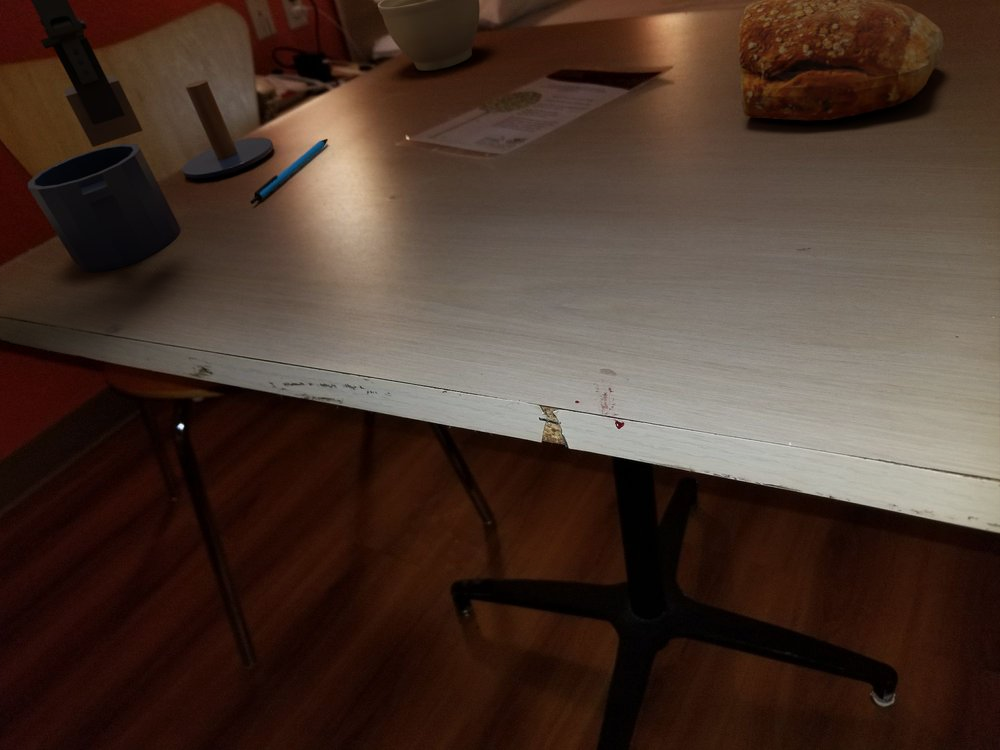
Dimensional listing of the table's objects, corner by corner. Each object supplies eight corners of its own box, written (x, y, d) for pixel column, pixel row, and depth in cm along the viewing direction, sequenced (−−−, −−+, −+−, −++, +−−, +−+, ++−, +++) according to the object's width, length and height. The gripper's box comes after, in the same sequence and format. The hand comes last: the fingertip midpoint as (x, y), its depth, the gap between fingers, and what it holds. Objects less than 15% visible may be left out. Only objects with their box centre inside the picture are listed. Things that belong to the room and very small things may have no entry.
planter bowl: (394, 64, 127) (376, -4, 121) (483, 41, 127) (469, -28, 121) (399, 86, 114) (378, 12, 108) (498, 60, 114) (483, -16, 108)
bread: (765, 66, 86) (766, -27, 80) (943, 56, 77) (959, -51, 71) (716, 133, 73) (713, 27, 67) (924, 130, 64) (942, 7, 58)
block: (92, 147, 65) (65, 96, 62) (88, 137, 68) (62, 89, 66) (143, 130, 66) (118, 80, 64) (136, 122, 70) (113, 73, 67)
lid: (195, 191, 93) (155, 107, 86) (178, 170, 102) (141, 92, 96) (286, 156, 97) (254, 73, 90) (261, 139, 106) (231, 63, 100)
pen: (250, 206, 83) (246, 197, 83) (325, 142, 97) (323, 134, 97) (256, 205, 83) (252, 196, 82) (331, 142, 97) (328, 133, 96)
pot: (83, 292, 73) (29, 205, 68) (72, 243, 86) (26, 167, 80) (193, 248, 77) (150, 162, 71) (167, 207, 90) (128, 132, 84)
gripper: (-5, -241, 47) (161, 117, 61) (-2, -199, 60) (135, 88, 74) (-134, -220, 45) (69, 147, 58) (-101, -181, 58) (58, 112, 72)
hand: (106, 113), depth 66 cm, fingers closed on block, 4 cm apart
